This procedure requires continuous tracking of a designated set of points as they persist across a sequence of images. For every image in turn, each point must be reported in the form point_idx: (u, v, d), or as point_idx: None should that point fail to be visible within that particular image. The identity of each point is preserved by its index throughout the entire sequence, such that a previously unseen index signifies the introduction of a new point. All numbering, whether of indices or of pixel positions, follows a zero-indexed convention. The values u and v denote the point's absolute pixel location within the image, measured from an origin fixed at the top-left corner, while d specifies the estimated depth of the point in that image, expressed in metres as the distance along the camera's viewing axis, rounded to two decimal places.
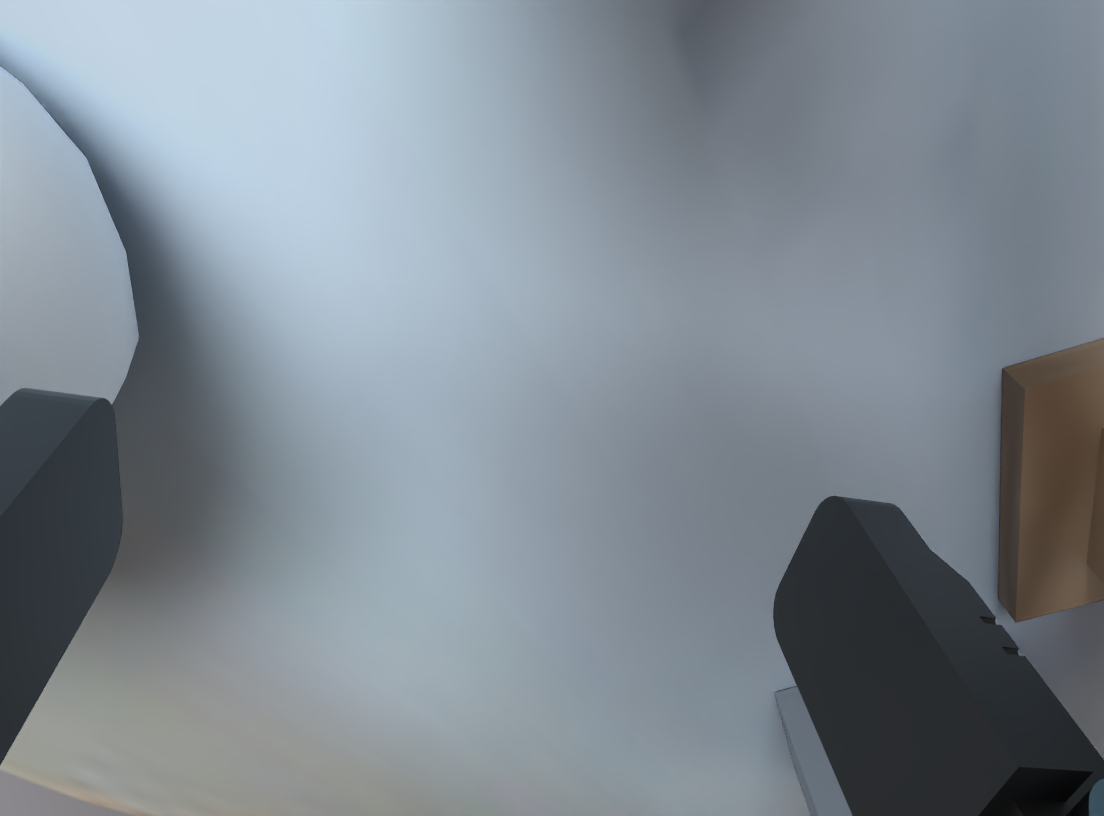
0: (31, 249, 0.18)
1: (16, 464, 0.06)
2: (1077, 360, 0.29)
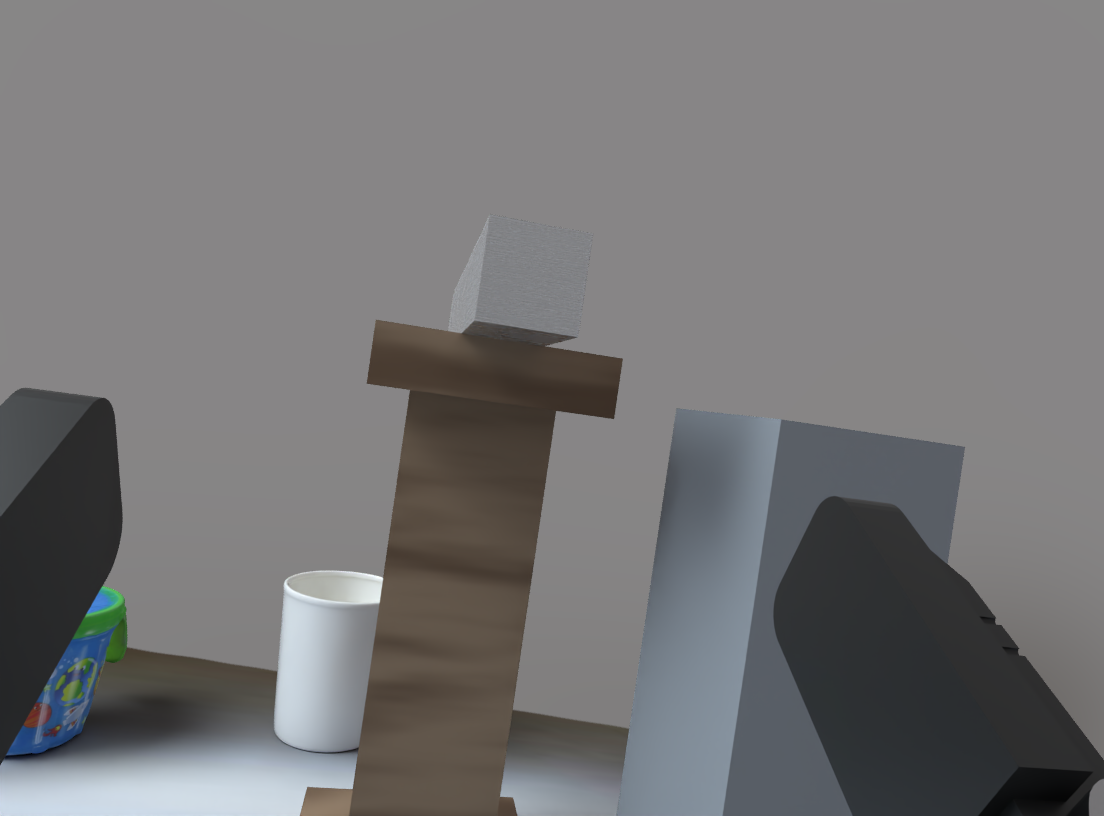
0: None
1: (16, 464, 0.06)
2: None
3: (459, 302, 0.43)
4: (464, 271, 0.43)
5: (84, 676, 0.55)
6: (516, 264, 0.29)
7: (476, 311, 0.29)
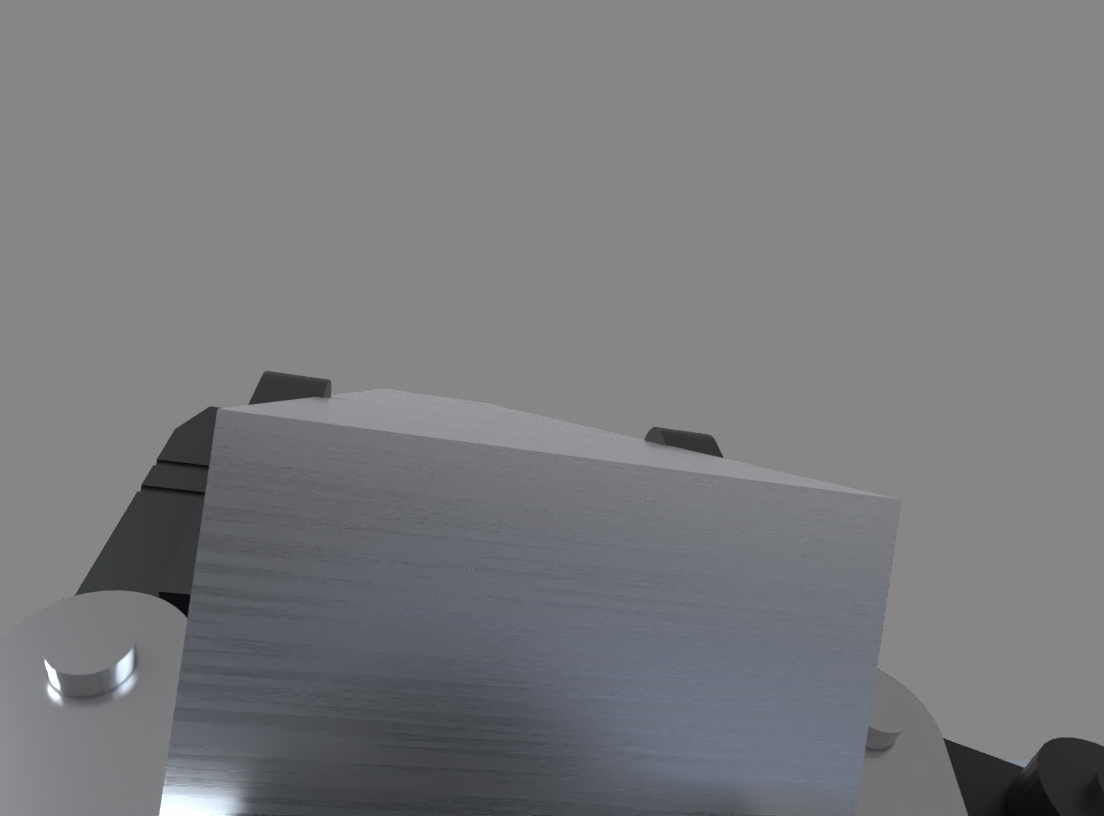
0: None
1: None
2: None
3: None
4: None
5: None
6: (416, 739, 0.04)
7: None
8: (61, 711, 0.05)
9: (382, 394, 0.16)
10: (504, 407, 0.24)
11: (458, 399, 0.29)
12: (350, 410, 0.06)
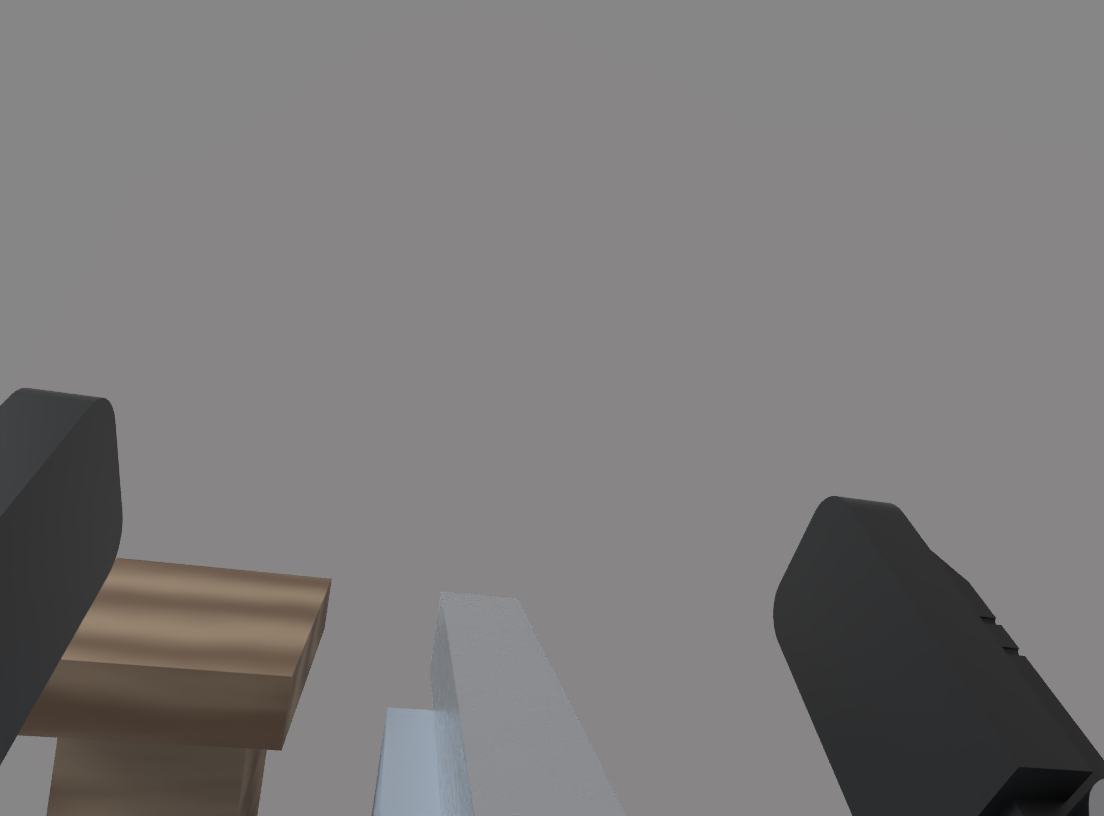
0: None
1: (16, 463, 0.06)
2: None
3: (445, 720, 0.29)
4: (453, 682, 0.28)
5: None
6: None
7: None
8: None
9: (470, 701, 0.26)
10: (534, 636, 0.35)
11: (497, 603, 0.39)
12: None
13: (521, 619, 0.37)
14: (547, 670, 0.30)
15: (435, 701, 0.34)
